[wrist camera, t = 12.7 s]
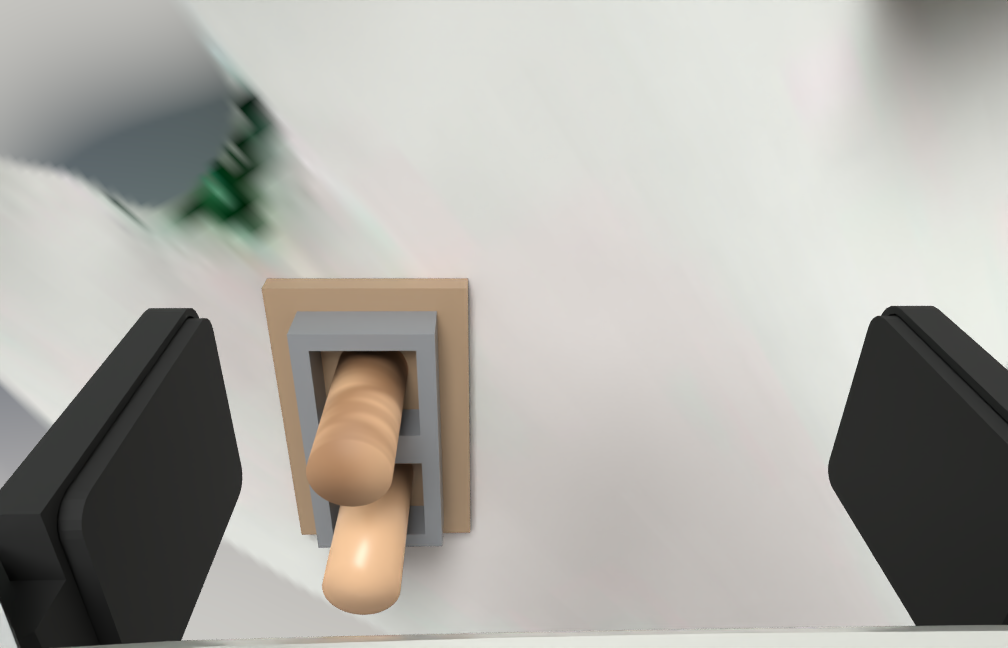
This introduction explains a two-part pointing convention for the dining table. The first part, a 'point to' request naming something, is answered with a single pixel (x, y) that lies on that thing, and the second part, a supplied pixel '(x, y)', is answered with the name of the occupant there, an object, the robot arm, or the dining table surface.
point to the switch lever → (359, 428)
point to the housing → (423, 430)
